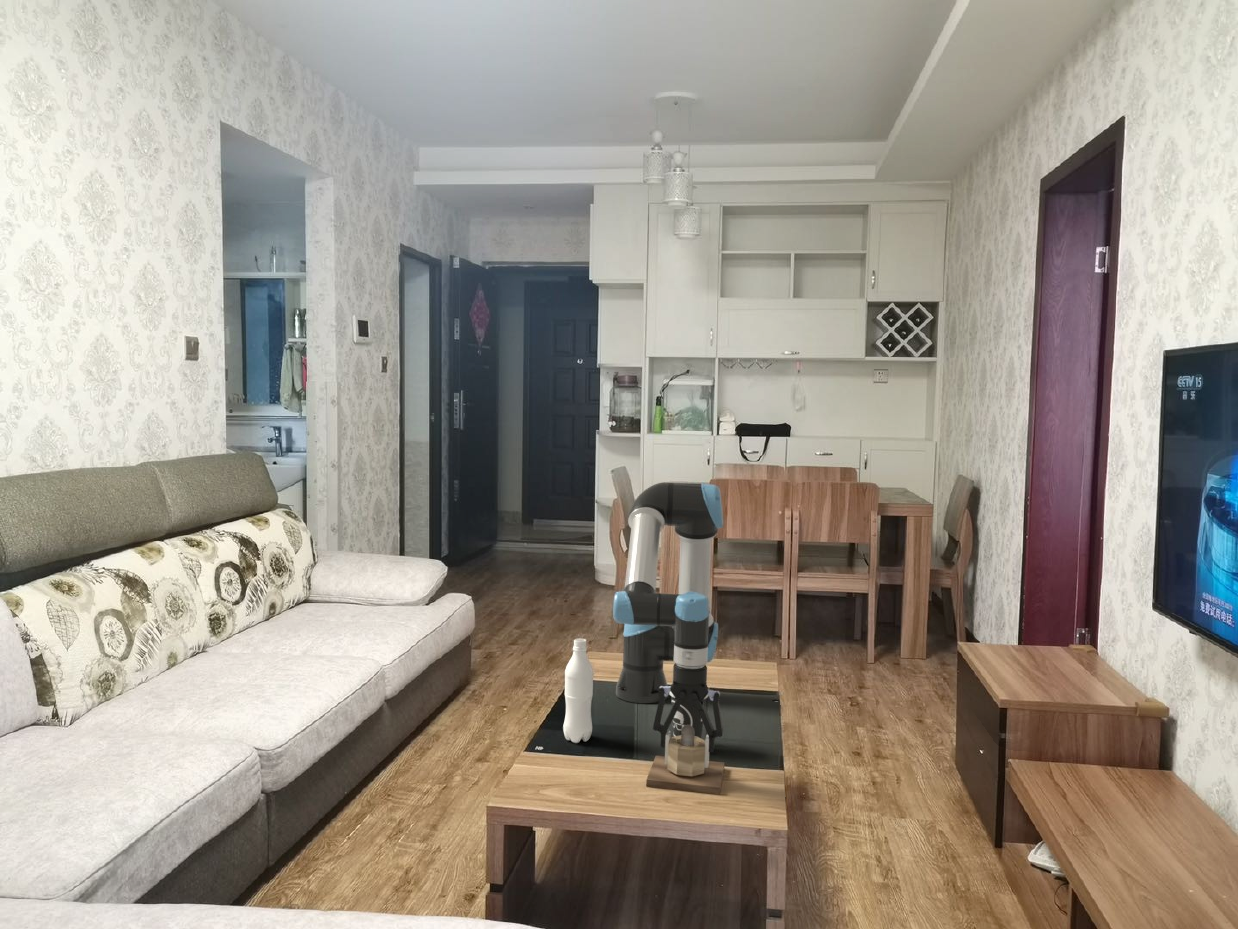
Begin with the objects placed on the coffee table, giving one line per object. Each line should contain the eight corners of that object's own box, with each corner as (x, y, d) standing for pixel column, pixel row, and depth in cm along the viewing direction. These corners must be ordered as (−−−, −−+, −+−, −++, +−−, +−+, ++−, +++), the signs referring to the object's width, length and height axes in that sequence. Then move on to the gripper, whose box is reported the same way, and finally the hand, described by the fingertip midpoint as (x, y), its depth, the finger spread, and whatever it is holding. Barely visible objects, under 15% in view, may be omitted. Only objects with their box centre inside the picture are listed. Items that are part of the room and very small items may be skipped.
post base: (655, 761, 210) (657, 711, 209) (724, 769, 207) (726, 718, 206) (646, 786, 196) (648, 732, 195) (719, 794, 193) (721, 740, 192)
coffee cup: (704, 755, 215) (706, 693, 214) (664, 750, 217) (666, 690, 216) (708, 740, 224) (710, 681, 223) (670, 736, 226) (672, 678, 225)
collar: (670, 759, 206) (671, 733, 206) (706, 763, 205) (707, 737, 204) (665, 773, 198) (667, 747, 198) (702, 777, 197) (704, 751, 196)
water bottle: (557, 739, 222) (559, 639, 221) (577, 731, 228) (580, 634, 226) (577, 747, 217) (580, 645, 216) (597, 739, 223) (600, 640, 221)
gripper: (641, 664, 198) (637, 765, 200) (736, 673, 194) (732, 775, 196) (646, 655, 205) (643, 752, 207) (738, 663, 201) (734, 761, 203)
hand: (686, 763), depth 201 cm, fingers closed on collar, 8 cm apart
